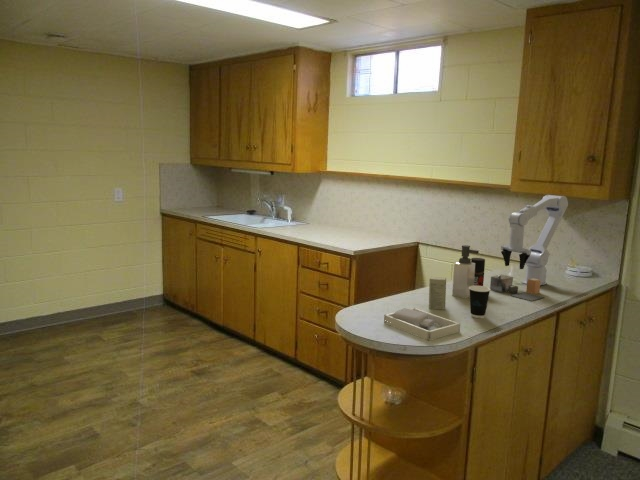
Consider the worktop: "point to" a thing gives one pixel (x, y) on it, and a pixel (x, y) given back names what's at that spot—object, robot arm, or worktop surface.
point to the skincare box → (437, 293)
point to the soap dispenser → (464, 274)
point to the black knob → (513, 289)
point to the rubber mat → (527, 296)
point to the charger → (414, 318)
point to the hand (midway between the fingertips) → (514, 267)
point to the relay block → (533, 286)
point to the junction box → (501, 283)
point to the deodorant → (478, 271)
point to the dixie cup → (478, 300)
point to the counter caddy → (447, 329)
